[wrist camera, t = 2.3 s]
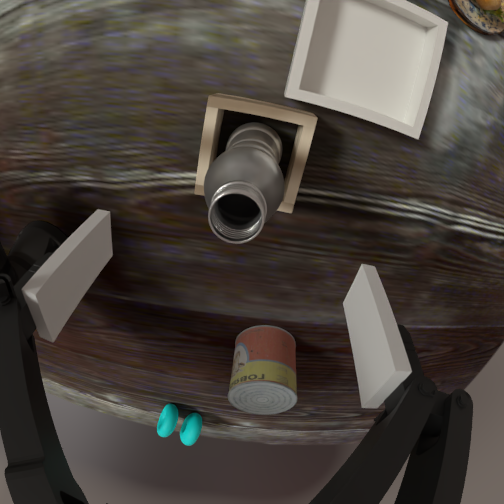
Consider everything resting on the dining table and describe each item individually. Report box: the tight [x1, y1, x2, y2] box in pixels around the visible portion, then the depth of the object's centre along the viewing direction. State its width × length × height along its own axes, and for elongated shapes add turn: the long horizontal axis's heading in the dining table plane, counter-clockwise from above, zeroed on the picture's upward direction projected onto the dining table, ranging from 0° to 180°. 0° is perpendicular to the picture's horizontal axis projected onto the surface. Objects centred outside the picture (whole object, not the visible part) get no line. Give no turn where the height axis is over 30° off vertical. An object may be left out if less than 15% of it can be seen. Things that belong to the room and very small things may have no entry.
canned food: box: [228, 325, 297, 415], centre depth 50 cm, size 11×11×12 cm
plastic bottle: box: [204, 122, 285, 244], centre depth 27 cm, size 6×7×20 cm
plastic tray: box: [284, 0, 448, 139], centre depth 26 cm, size 16×16×4 cm
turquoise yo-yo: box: [157, 404, 202, 445], centre depth 69 cm, size 10×10×10 cm
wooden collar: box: [194, 93, 318, 213], centre depth 34 cm, size 11×11×5 cm
